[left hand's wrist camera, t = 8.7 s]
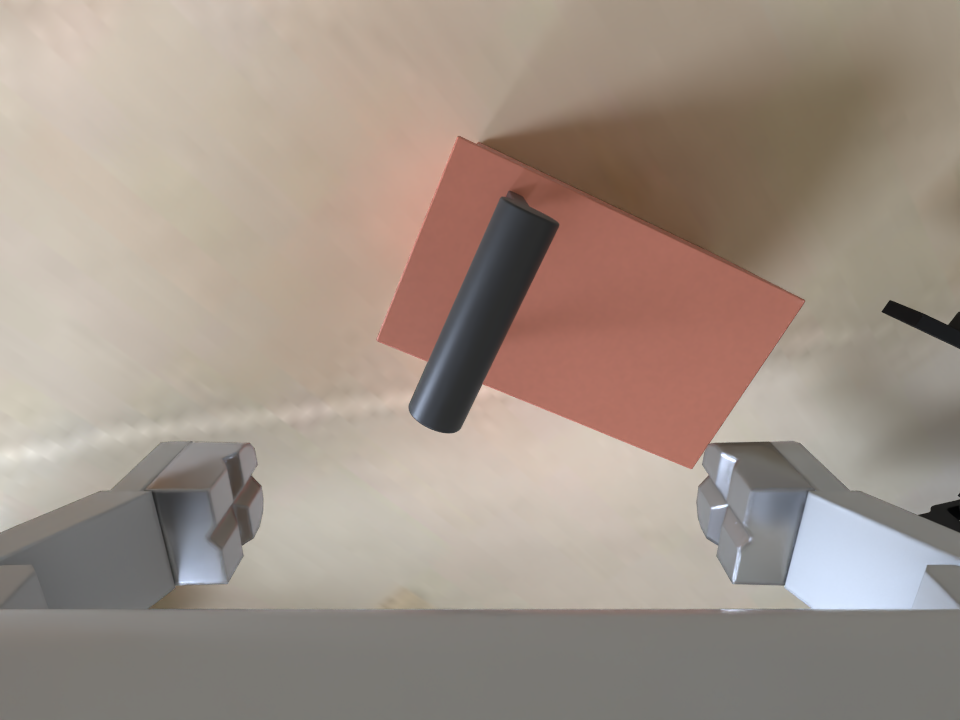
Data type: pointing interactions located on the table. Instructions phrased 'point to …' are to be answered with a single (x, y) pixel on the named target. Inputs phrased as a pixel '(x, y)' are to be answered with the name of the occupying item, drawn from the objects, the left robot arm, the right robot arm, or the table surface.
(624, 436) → the lid
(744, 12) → the table surface
